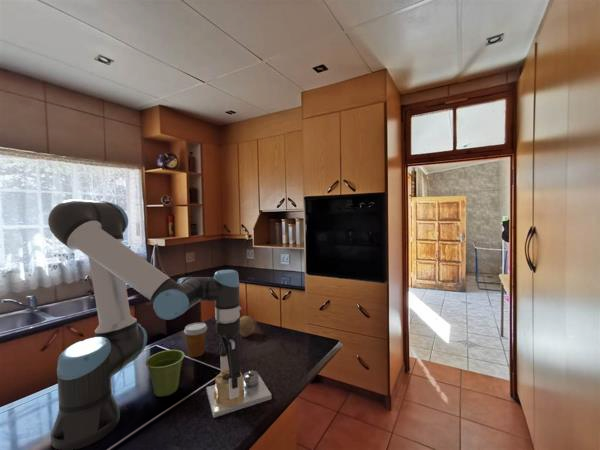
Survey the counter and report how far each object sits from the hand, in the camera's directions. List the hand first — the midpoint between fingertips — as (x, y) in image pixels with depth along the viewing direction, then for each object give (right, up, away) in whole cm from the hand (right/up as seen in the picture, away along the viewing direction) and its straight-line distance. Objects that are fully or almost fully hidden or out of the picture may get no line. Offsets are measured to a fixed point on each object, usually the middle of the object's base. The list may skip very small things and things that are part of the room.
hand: (229, 385), depth 89 cm
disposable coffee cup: (-22, -5, +31) cm, 39 cm away
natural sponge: (-4, -4, +49) cm, 50 cm away
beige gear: (0, -3, 0) cm, 3 cm away
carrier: (+2, -4, +2) cm, 6 cm away
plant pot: (-23, -5, +6) cm, 24 cm away
